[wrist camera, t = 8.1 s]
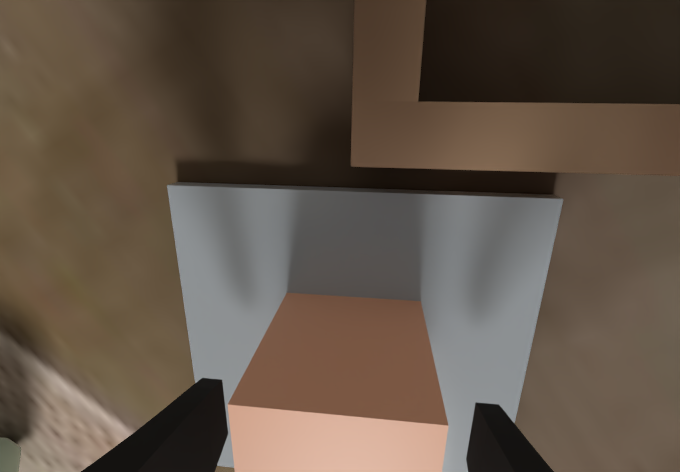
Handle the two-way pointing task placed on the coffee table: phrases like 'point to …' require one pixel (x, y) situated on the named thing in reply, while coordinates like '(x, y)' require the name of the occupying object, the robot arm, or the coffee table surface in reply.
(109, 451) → the robot arm
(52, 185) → the coffee table surface
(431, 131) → the well frame
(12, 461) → the pale green pointed piece
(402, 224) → the tile
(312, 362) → the terracotta block
